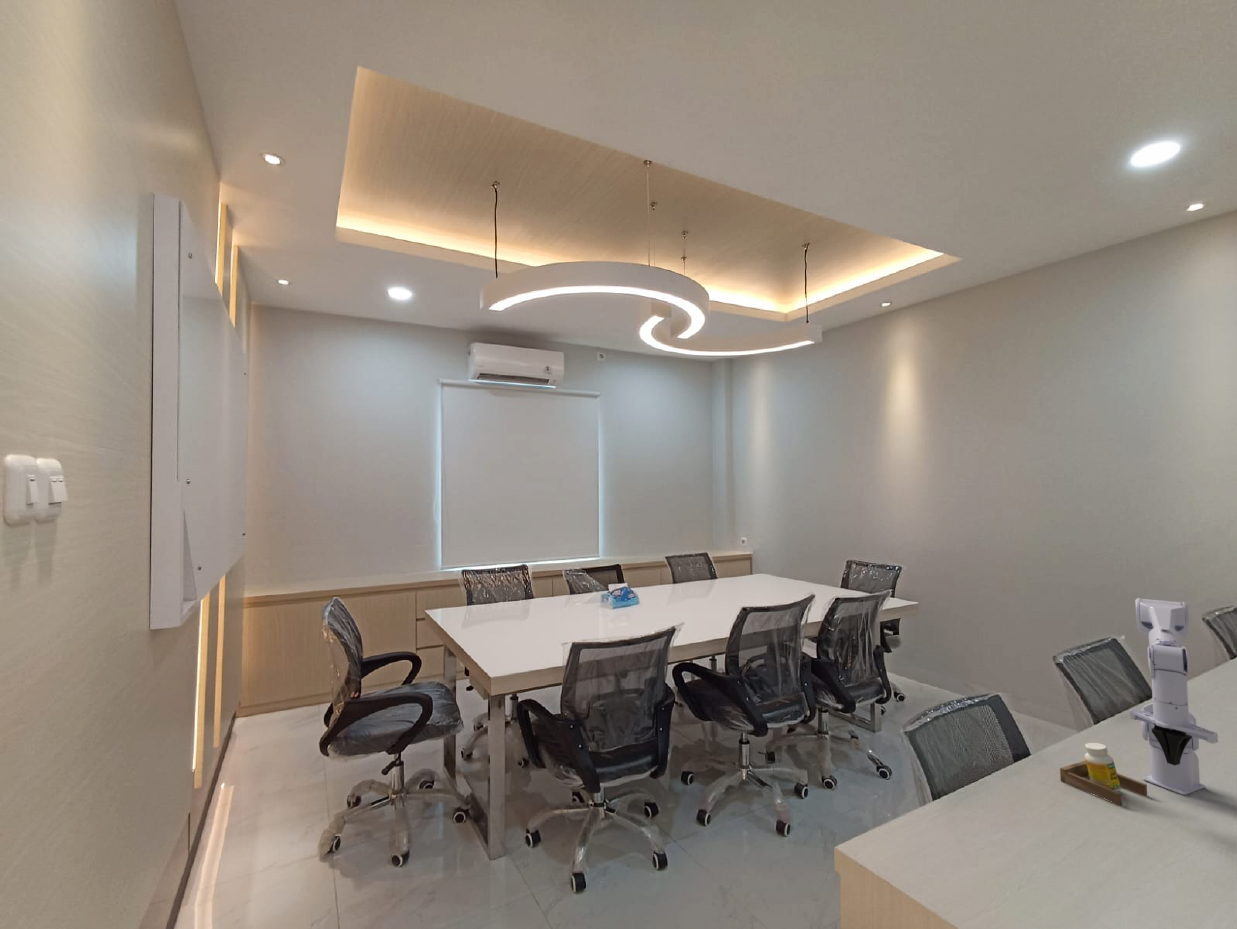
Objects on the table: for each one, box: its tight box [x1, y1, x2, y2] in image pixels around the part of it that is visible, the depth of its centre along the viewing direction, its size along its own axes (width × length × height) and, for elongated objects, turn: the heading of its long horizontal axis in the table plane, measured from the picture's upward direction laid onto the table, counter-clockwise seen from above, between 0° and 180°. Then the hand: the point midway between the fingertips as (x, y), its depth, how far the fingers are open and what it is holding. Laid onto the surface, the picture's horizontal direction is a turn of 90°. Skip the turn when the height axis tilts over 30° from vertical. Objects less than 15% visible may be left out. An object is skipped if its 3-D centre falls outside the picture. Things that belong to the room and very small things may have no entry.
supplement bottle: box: [1084, 742, 1122, 792], centre depth 134 cm, size 5×5×10 cm
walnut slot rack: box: [1059, 760, 1148, 806], centre depth 135 cm, size 11×12×3 cm
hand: (1173, 763), depth 125 cm, fingers closed
